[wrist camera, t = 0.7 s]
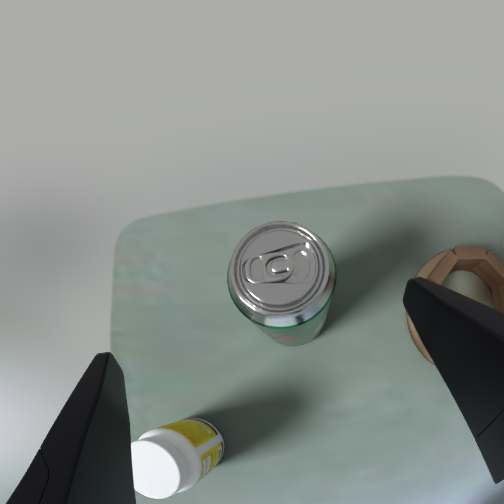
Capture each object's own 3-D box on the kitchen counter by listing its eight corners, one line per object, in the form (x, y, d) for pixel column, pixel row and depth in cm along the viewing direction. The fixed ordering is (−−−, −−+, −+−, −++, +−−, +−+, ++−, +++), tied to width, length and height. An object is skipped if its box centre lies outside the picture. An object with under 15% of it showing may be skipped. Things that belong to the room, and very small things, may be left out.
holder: (518, 305, 20) (539, 295, 17) (459, 394, 19) (479, 396, 16) (449, 232, 24) (463, 214, 21) (382, 314, 23) (392, 305, 20)
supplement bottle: (162, 425, 23) (104, 440, 15) (212, 410, 23) (167, 425, 15) (183, 474, 21) (133, 507, 13) (234, 462, 21) (199, 498, 13)
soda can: (330, 341, 23) (348, 315, 12) (265, 350, 24) (225, 332, 13) (320, 279, 25) (326, 205, 14) (258, 288, 26) (217, 223, 15)
